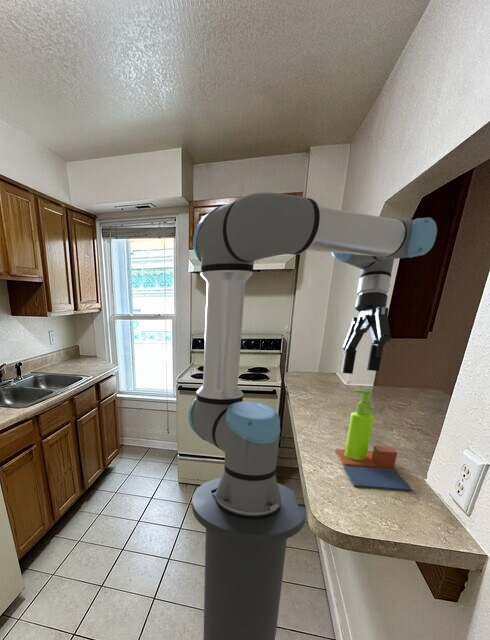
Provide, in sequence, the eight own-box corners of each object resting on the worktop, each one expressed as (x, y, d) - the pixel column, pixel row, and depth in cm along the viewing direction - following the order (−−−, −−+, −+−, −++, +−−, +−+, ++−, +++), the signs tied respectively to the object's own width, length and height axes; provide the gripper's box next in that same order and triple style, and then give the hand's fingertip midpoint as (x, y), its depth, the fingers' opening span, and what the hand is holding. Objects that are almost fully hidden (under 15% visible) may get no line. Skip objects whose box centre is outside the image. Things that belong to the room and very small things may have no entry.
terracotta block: (376, 466, 99) (379, 451, 98) (371, 459, 103) (374, 445, 102) (394, 467, 98) (397, 452, 97) (388, 460, 102) (391, 446, 101)
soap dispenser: (345, 449, 110) (356, 387, 104) (369, 456, 106) (382, 390, 99) (337, 455, 107) (347, 390, 100) (361, 461, 102) (374, 394, 95)
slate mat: (354, 486, 90) (354, 484, 89) (343, 468, 100) (344, 466, 99) (411, 491, 87) (412, 489, 87) (395, 471, 97) (395, 470, 97)
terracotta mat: (344, 465, 101) (344, 463, 101) (335, 450, 111) (335, 449, 111) (394, 468, 99) (394, 467, 98) (380, 453, 109) (381, 451, 108)
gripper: (416, 282, 85) (400, 370, 88) (361, 307, 110) (350, 375, 112) (385, 279, 85) (370, 367, 88) (337, 304, 110) (326, 373, 113)
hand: (359, 372), depth 100 cm, fingers open, 13 cm apart
